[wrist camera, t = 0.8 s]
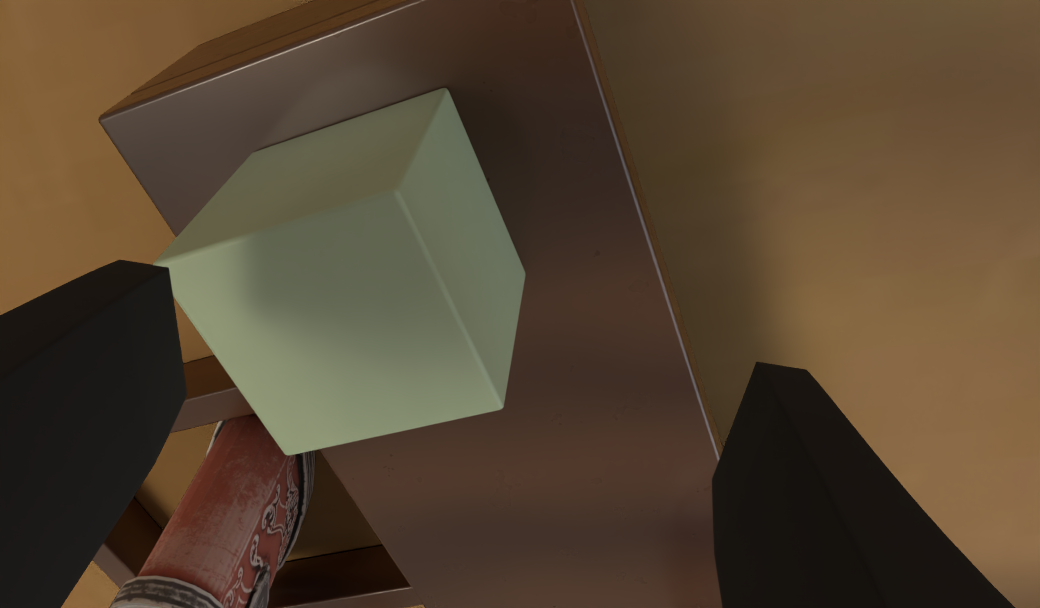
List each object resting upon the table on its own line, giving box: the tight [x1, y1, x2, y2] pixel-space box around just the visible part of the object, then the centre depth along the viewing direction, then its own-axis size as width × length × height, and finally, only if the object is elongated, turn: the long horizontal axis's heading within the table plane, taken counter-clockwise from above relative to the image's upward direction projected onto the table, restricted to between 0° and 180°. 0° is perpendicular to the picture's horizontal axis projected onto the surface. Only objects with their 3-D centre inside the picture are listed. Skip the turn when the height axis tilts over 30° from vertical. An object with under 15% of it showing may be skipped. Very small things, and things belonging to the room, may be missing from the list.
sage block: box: [153, 88, 525, 456], centre depth 14 cm, size 4×4×4 cm
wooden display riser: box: [92, 0, 723, 608], centre depth 22 cm, size 18×21×4 cm
